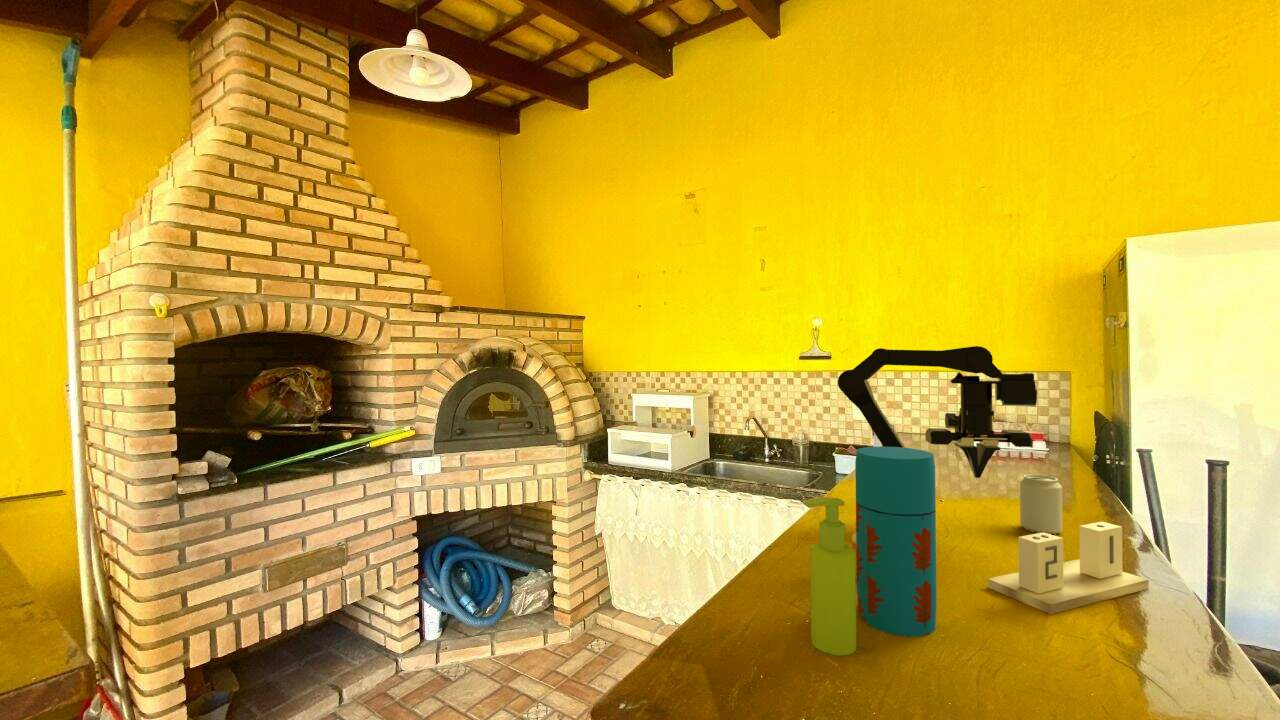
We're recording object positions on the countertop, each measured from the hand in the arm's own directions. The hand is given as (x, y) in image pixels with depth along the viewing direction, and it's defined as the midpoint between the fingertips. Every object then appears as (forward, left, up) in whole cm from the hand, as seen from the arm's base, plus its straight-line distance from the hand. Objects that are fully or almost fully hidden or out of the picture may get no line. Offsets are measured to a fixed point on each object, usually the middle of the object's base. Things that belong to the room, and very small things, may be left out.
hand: (977, 477), depth 114 cm
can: (+15, +9, -13) cm, 22 cm away
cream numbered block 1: (+13, -20, -11) cm, 26 cm away
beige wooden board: (+6, -24, -13) cm, 28 cm away
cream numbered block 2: (+1, -29, -11) cm, 31 cm away
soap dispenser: (-33, -52, -13) cm, 63 cm away
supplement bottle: (-25, -27, -13) cm, 39 cm away
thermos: (-23, -42, -13) cm, 50 cm away
